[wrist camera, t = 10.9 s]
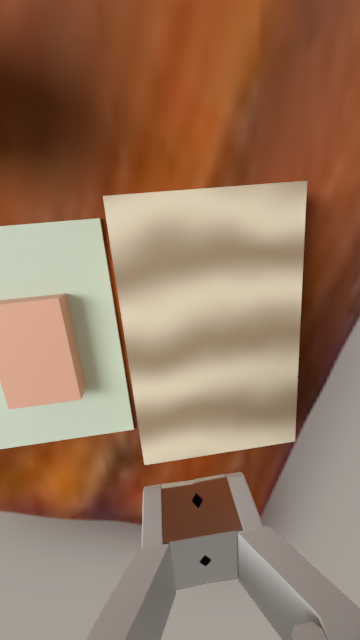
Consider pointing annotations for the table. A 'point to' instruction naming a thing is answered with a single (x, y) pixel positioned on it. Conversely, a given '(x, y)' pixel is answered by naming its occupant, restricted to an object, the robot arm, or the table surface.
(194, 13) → the table surface
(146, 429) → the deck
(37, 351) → the pink rectangular block
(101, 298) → the mat
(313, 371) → the table surface
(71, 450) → the table surface
